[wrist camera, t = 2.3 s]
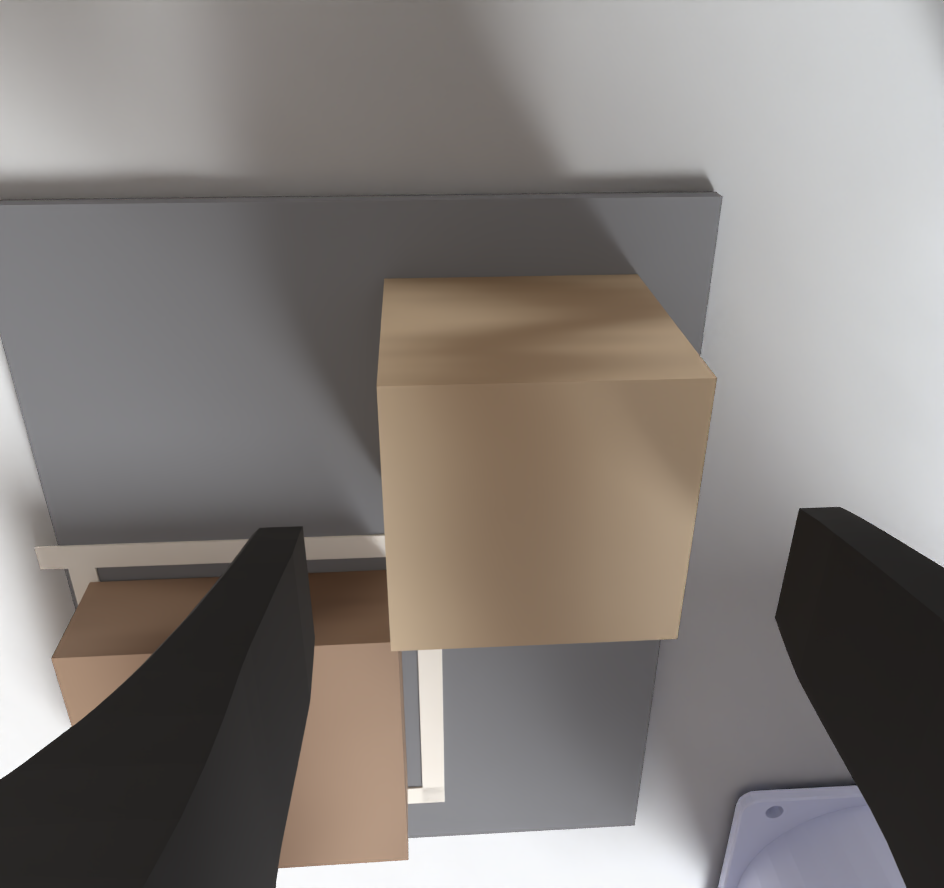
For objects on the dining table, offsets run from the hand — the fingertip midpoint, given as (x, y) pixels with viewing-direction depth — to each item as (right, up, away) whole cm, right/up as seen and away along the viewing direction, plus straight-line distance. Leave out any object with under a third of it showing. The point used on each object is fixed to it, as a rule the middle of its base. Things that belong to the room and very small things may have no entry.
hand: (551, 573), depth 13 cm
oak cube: (0, +3, +6) cm, 6 cm away
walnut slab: (-6, -4, +9) cm, 12 cm away
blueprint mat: (-3, -1, +8) cm, 9 cm away
